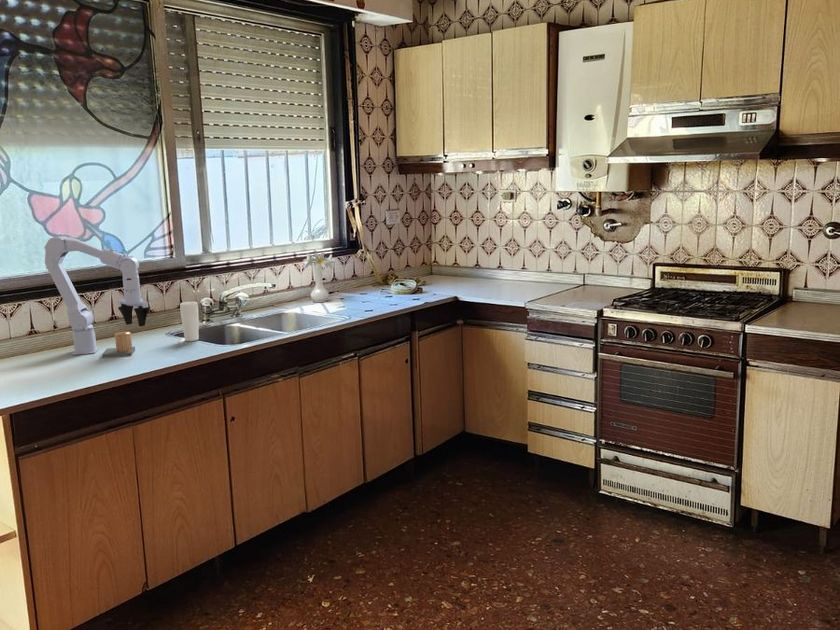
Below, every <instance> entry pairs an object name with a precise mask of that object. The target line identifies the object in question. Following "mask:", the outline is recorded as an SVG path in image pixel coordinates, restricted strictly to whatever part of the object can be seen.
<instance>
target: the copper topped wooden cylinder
mask: <svg viewBox="0 0 840 630" xmlns="http://www.w3.org/2000/svg"><path fill="white" fill-rule="evenodd" d="M114 340H115V348H116V351H117V352H128V351H131V350H132V347H133V343H132V341H133V340H132V334H131V331H119V332H115V333H114Z"/></svg>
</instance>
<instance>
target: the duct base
mask: <svg viewBox="0 0 840 630" xmlns="http://www.w3.org/2000/svg"><path fill="white" fill-rule="evenodd" d="M135 351H136V346H132V350H131V351H128V352H117V351H116V347H111V348H110V347H109V348H106V349H105V350H104V351H103V352H102V354H101V357H107V358H118V357H117V356H120V357H130V356H132V355H134V352H135Z"/></svg>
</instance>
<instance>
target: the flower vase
mask: <svg viewBox="0 0 840 630" xmlns="http://www.w3.org/2000/svg"><path fill="white" fill-rule="evenodd" d="M324 256H325V252H321V253H320V254H318V252H314V253H313V255H312V256H311V254H310V253H307V254H306V258H304V259H303V260H302V263H303V264H304V266H303V268H306V269H307V268H308V267H309V266H313V267H314V270H315V284H314V285H315V286H314V288H313V289H312V290H311V292H310V298H311V299H312V300H313V302H314V303H324V302H325V303H326V302H327V299H329V296H330V293H329V291H328V290H327V289H326V288H325V286H324V283H323V276H322V271H323V268H324V269H326V268H328V267H329V268H330V269H333V267H334V266H333V263H336V261H337V260H336V259H335V258H333V254H329V256H328V257H324Z"/></svg>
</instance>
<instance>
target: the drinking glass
mask: <svg viewBox="0 0 840 630" xmlns="http://www.w3.org/2000/svg"><path fill="white" fill-rule="evenodd" d="M179 309H180V317H181V318H180V319H181V323H182V328H183V335H184V340H185V341H186V342H194V341H198V340H199V337H200V335H199V304H198V302H197V301H184V302H180V304H179Z"/></svg>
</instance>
